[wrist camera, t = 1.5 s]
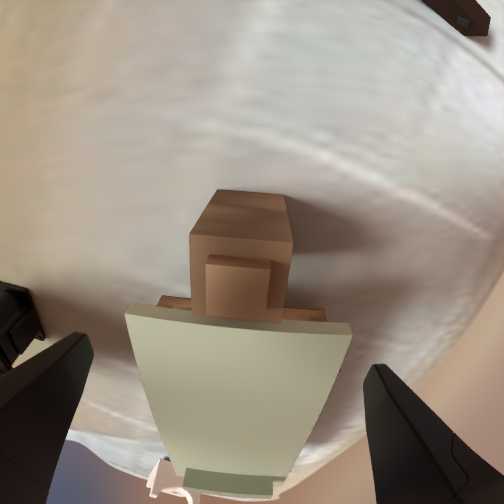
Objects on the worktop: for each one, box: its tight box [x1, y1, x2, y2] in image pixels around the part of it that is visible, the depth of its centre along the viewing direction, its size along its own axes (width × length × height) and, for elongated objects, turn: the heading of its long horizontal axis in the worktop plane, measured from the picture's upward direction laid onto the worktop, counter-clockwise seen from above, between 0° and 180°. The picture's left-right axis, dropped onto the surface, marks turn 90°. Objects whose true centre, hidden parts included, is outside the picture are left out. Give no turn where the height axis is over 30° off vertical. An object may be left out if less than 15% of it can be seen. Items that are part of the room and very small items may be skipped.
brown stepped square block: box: [189, 189, 293, 324], centre depth 15 cm, size 4×4×8 cm
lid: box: [124, 303, 353, 499], centre depth 19 cm, size 12×25×3 cm, turn 176°
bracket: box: [146, 459, 201, 504], centre depth 35 cm, size 13×7×8 cm, turn 156°
